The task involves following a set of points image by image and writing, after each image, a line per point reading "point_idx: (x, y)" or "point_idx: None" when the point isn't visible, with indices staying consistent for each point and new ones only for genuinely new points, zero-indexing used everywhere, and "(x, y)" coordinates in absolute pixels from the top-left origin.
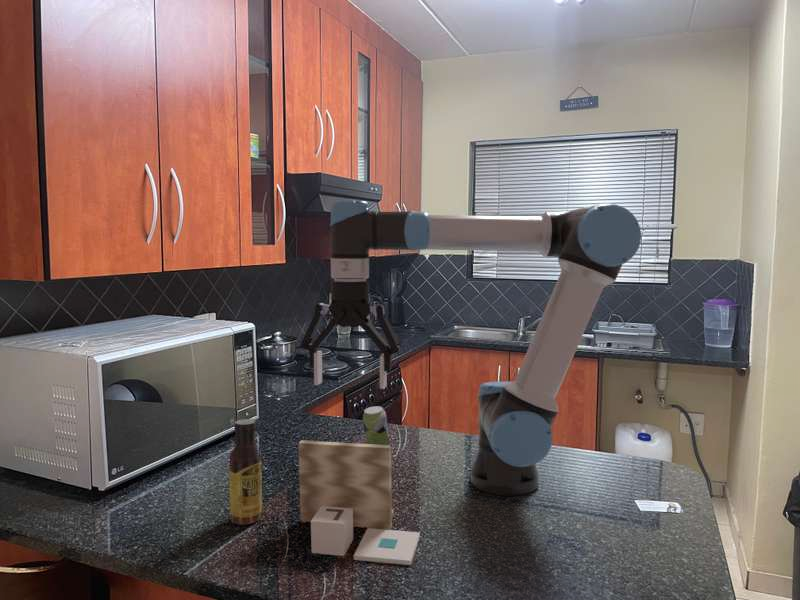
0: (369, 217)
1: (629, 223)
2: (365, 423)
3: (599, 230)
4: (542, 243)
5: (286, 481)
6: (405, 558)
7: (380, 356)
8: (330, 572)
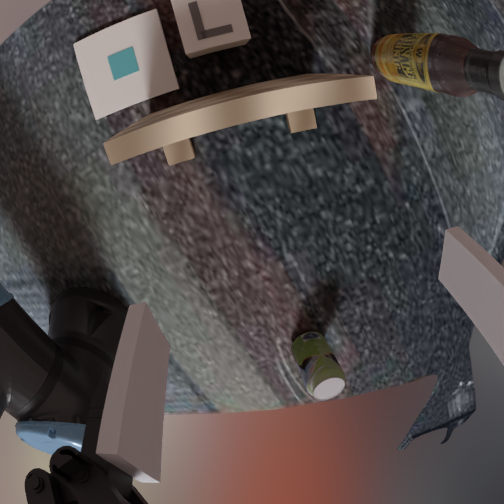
0: None
1: None
2: (334, 363)
3: None
4: None
5: (398, 199)
6: (81, 44)
7: (114, 452)
8: None
